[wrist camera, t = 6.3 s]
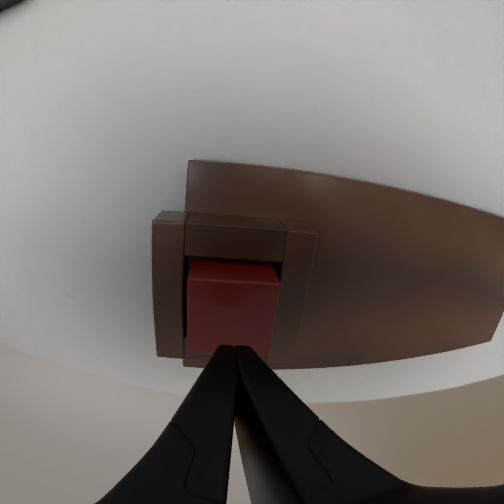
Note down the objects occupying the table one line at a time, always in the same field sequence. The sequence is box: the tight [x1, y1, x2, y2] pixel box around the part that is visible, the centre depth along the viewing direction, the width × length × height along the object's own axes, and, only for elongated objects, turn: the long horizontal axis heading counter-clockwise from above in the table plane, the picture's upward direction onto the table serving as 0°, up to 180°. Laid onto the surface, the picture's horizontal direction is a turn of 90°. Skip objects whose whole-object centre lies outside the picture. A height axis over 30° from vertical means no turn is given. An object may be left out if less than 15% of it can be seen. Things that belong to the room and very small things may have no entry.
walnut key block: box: [152, 160, 504, 369], centre depth 14 cm, size 10×25×4 cm, turn 84°
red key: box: [187, 260, 281, 356], centre depth 10 cm, size 3×3×2 cm
